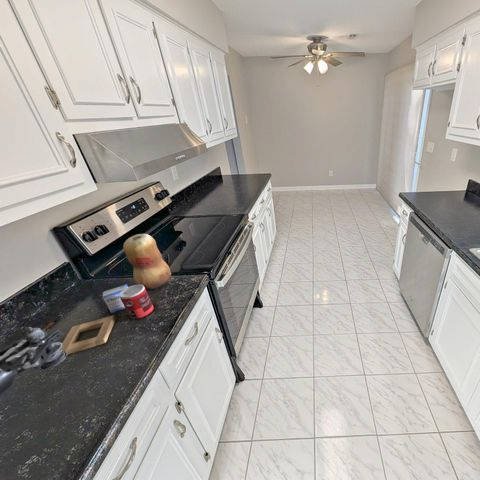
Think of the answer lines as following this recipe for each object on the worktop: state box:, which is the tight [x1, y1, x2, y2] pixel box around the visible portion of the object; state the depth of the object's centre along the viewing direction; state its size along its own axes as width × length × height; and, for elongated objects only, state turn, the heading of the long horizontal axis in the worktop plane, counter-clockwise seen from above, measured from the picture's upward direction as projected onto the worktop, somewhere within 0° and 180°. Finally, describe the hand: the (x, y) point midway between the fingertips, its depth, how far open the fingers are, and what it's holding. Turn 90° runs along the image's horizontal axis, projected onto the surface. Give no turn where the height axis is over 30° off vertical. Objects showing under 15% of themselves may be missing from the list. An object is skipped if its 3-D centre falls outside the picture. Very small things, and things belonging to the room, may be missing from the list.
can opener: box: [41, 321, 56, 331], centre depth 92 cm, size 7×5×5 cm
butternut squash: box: [122, 233, 172, 290], centre depth 109 cm, size 14×13×25 cm
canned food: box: [119, 284, 154, 320], centre depth 96 cm, size 8×8×11 cm
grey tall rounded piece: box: [24, 326, 68, 370], centre depth 65 cm, size 6×6×12 cm
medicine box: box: [102, 283, 129, 314], centre depth 101 cm, size 8×4×9 cm, turn 126°
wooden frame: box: [61, 314, 117, 356], centre depth 88 cm, size 13×13×2 cm
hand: (52, 332), depth 68 cm, fingers closed on grey tall rounded piece, 3 cm apart
